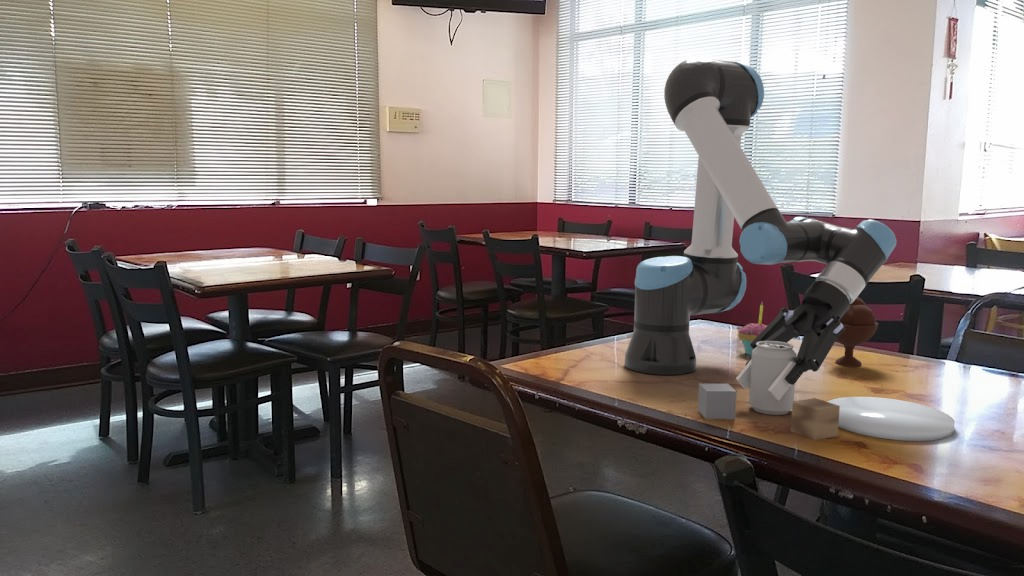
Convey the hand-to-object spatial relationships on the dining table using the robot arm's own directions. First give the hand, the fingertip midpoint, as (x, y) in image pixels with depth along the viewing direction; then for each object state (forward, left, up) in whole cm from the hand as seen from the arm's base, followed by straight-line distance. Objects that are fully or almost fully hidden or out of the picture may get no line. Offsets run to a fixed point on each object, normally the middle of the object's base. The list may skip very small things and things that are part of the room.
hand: (756, 389), depth 140 cm
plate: (+11, +18, -4) cm, 22 cm away
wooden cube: (+13, +2, -4) cm, 14 cm away
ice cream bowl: (-26, +41, -4) cm, 49 cm away
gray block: (0, -8, -4) cm, 9 cm away
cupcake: (-40, +27, -4) cm, 49 cm away
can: (0, +3, -4) cm, 6 cm away
